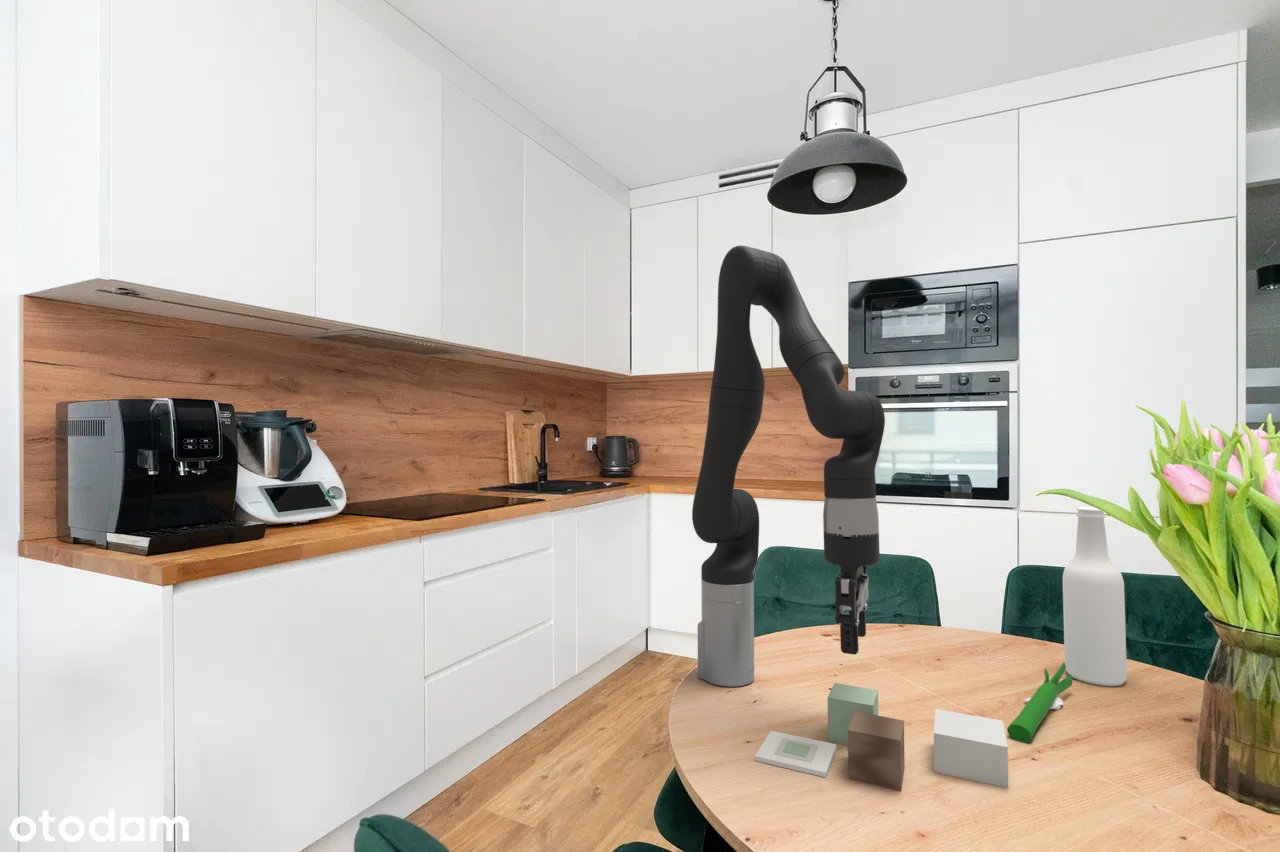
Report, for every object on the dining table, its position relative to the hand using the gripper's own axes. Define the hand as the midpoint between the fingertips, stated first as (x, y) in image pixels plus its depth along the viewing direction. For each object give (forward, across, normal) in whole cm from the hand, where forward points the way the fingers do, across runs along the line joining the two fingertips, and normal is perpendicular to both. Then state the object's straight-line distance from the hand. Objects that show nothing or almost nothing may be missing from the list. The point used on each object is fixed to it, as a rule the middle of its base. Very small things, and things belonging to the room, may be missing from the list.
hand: (854, 644), depth 87 cm
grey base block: (+13, +1, +14) cm, 19 cm away
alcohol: (+13, -42, +35) cm, 56 cm away
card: (+13, +9, -6) cm, 17 cm away
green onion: (+14, -23, +25) cm, 36 cm away
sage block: (+13, 0, 0) cm, 13 cm away
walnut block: (+13, +9, +4) cm, 16 cm away
